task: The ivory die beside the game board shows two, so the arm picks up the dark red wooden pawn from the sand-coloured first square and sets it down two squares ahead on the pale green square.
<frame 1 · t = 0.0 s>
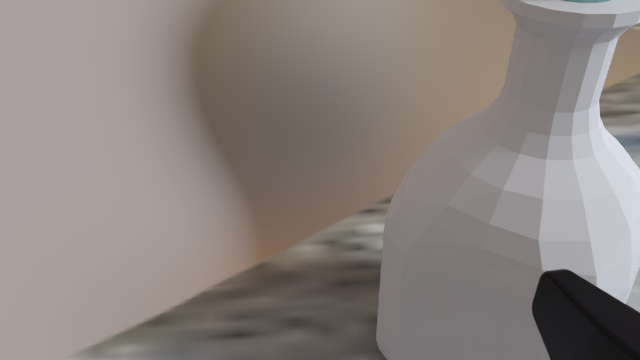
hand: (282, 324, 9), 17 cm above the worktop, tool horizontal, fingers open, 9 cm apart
soap bottle: (484, 350, 29), on the worktop
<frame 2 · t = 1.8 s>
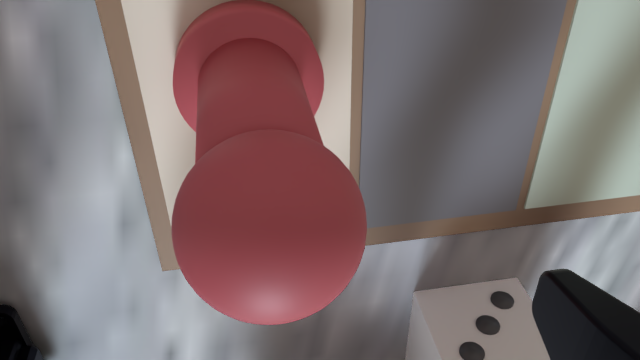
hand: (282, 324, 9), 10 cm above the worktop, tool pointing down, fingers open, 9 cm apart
game board: (457, 49, 18), on the worktop
die: (458, 319, 27), on the worktop
pawn: (247, 71, 17), resting on game board
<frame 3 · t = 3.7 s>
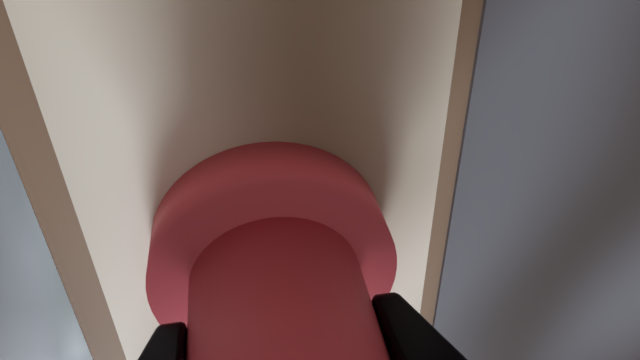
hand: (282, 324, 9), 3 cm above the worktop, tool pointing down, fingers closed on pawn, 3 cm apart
game board: (590, 188, 12), on the worktop
pawn: (269, 239, 11), resting on game board, touching gripper
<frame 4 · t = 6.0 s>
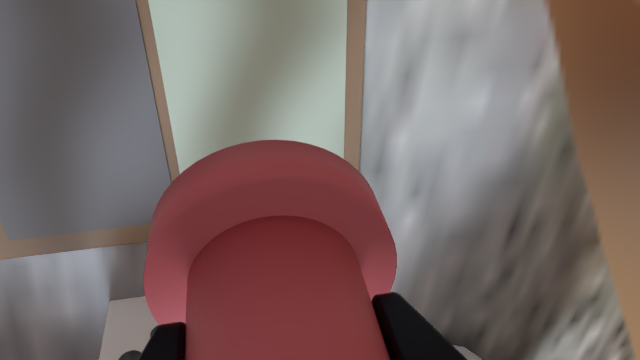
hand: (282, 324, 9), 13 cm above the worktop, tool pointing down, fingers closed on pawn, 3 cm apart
game board: (47, 63, 19), on the worktop
die: (173, 328, 27), on the worktop
pawn: (268, 238, 11), point 11 cm above the worktop, touching gripper
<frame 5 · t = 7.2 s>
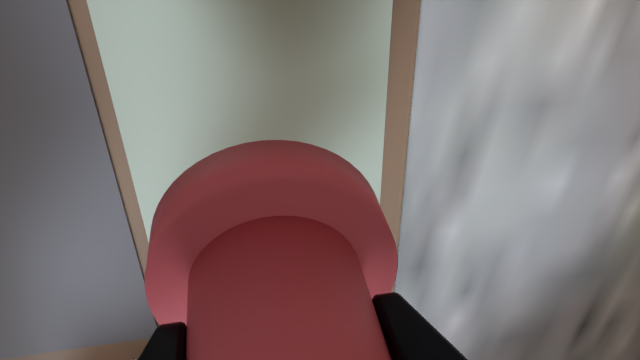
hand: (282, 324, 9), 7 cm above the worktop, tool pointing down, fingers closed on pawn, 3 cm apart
pawn: (269, 238, 10), point 4 cm above the worktop, touching gripper
when the fingers open (3 cm above the worktop, at t = 8.4 s): pawn stays where it is, resting on game board.
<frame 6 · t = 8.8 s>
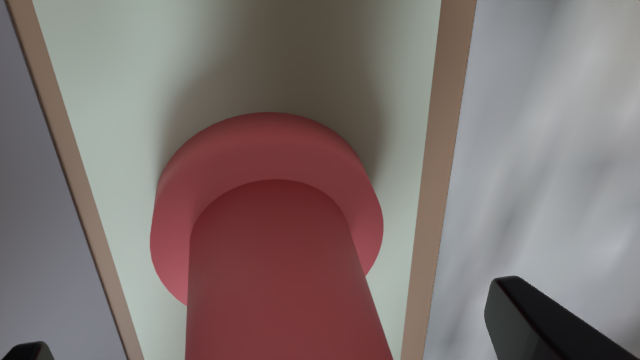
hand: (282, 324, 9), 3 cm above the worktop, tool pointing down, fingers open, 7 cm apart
pawn: (265, 207, 11), resting on game board
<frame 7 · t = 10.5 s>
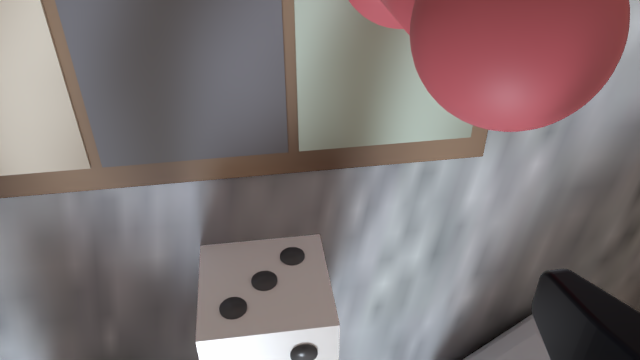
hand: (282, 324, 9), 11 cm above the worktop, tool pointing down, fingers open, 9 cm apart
die: (264, 280, 24), on the worktop
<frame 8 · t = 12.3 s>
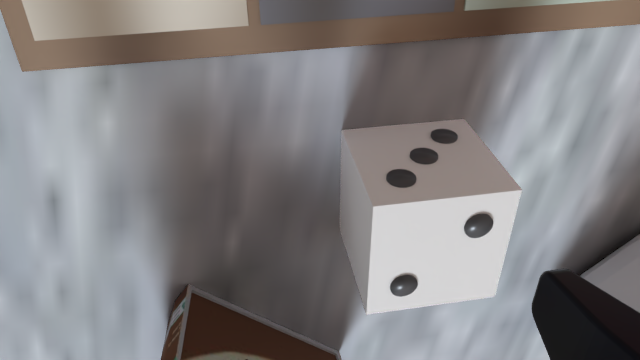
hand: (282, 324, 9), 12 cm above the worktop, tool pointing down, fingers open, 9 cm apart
die: (398, 175, 23), on the worktop
soap bottle: (632, 282, 30), on the worktop
food container: (231, 353, 28), on the worktop
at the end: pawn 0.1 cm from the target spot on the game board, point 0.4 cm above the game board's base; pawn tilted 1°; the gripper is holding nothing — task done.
